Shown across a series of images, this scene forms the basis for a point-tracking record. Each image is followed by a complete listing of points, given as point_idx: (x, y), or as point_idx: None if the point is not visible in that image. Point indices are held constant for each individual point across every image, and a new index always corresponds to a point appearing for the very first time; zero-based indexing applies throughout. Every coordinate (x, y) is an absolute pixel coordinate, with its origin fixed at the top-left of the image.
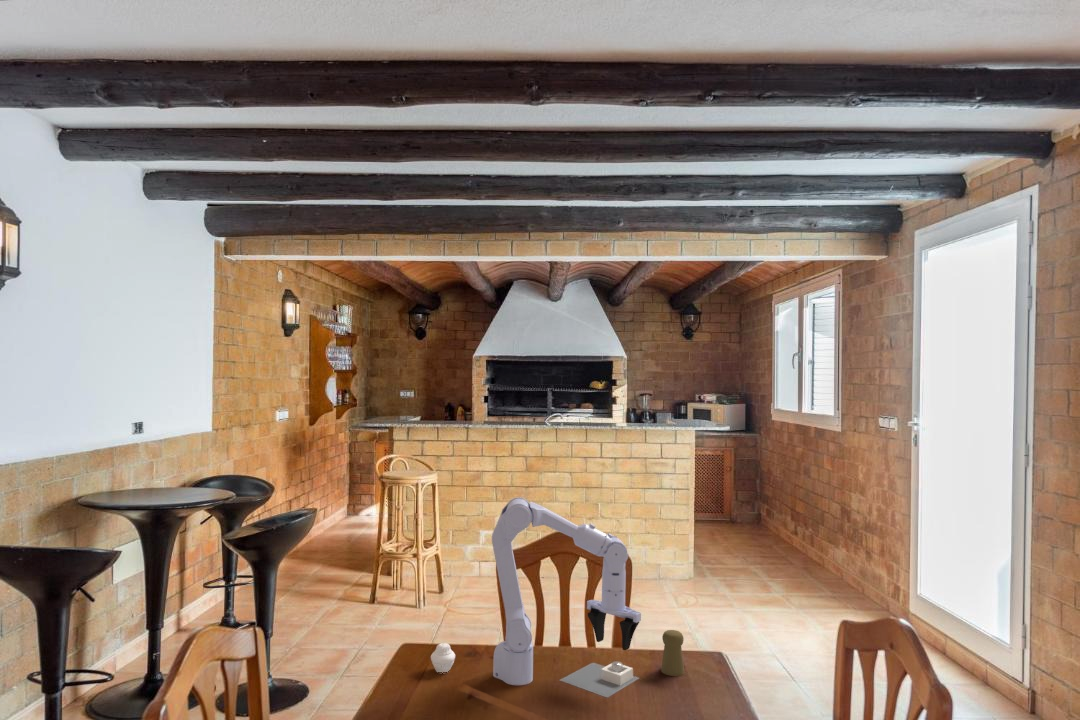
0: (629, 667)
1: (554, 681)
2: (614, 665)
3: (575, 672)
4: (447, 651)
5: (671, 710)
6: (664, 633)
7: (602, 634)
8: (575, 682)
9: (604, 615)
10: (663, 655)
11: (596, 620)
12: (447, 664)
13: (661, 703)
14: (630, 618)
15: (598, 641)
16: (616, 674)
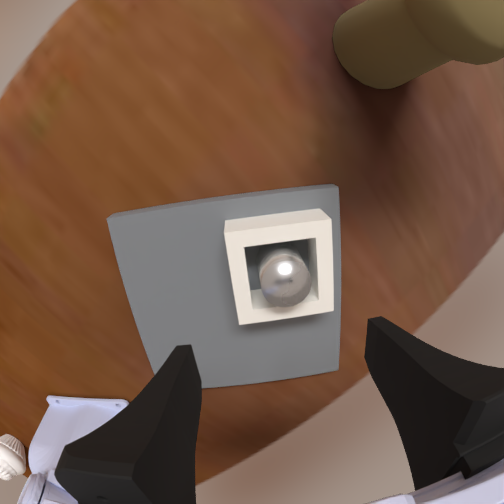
0: (315, 225)
1: (135, 373)
2: (290, 306)
3: (141, 327)
4: (10, 472)
5: (474, 263)
6: (461, 25)
7: (188, 375)
8: (202, 373)
9: (159, 461)
10: (390, 50)
11: (193, 502)
12: (23, 461)
13: (446, 252)
14: (488, 473)
15: (201, 385)
16: (315, 313)
